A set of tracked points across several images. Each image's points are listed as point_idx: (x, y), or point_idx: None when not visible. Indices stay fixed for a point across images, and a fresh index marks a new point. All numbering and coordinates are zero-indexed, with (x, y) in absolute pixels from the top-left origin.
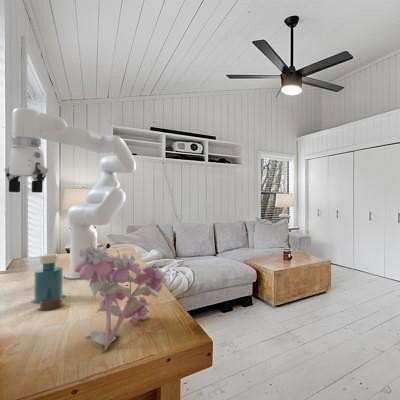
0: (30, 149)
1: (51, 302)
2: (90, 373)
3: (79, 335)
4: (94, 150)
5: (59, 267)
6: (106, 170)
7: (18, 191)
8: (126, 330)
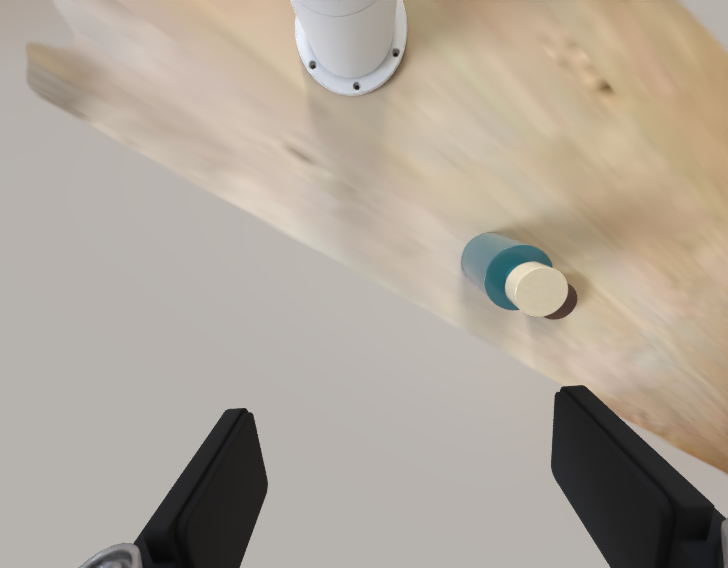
0: None
1: (571, 311)
2: None
3: (721, 371)
4: None
5: (525, 248)
6: None
7: (253, 426)
8: None
